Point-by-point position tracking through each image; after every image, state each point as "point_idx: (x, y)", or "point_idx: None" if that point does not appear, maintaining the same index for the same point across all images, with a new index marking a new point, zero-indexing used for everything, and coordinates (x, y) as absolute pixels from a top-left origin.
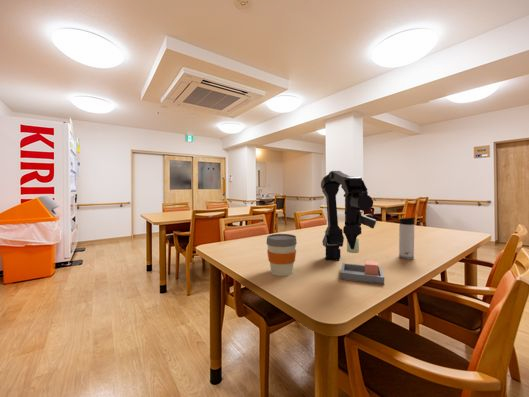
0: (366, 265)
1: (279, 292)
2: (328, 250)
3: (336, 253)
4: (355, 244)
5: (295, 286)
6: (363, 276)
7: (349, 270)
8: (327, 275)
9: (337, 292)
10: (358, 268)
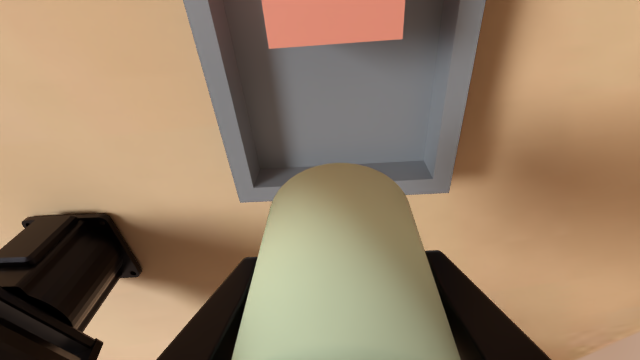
0: (400, 23)
1: (614, 326)
2: (91, 307)
3: (70, 257)
4: (436, 294)
5: (555, 303)
6: (475, 34)
7: (283, 139)
8: None
9: (636, 160)
10: (238, 85)
